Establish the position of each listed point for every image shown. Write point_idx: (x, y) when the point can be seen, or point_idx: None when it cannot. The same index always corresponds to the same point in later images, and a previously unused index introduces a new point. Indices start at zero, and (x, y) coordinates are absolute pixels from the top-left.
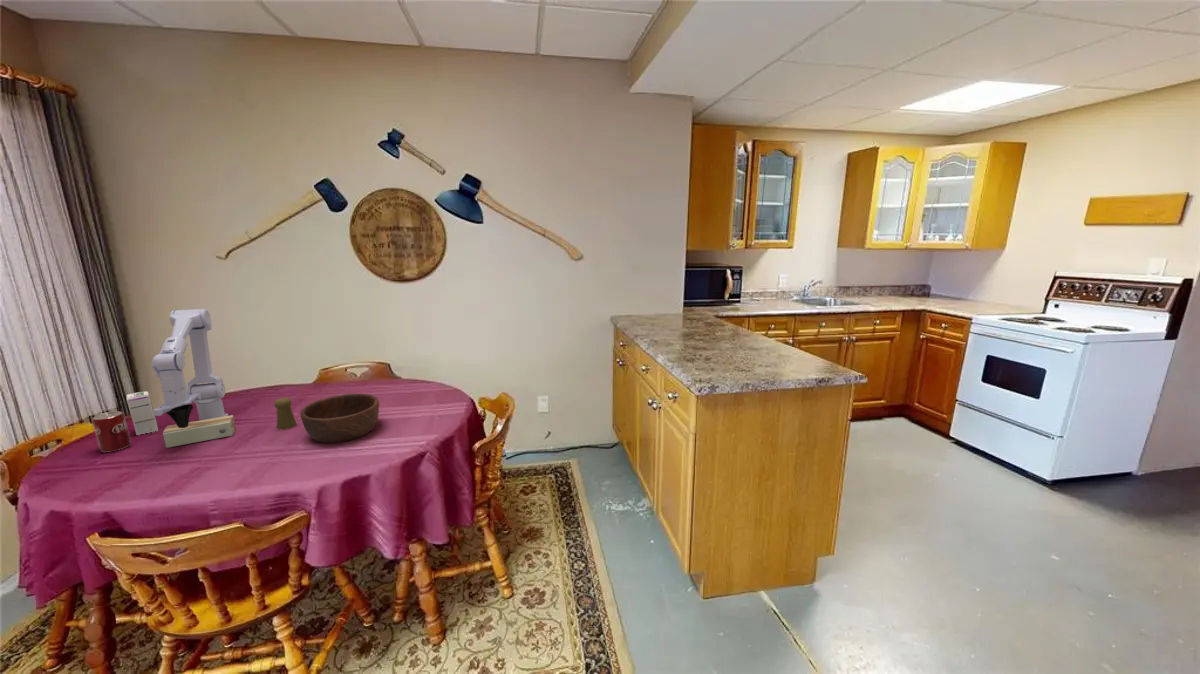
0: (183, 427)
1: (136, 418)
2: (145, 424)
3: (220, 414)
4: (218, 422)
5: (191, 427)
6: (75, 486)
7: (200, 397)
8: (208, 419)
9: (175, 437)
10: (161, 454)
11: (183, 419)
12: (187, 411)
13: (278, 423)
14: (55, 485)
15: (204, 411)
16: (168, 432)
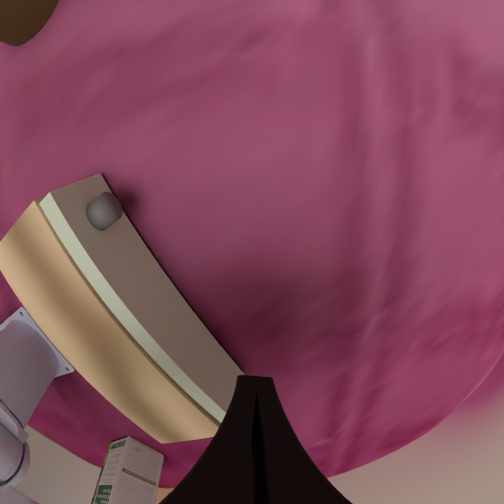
0: (272, 385)
1: (149, 492)
2: (141, 467)
3: (7, 337)
4: (64, 266)
5: (155, 370)
6: (446, 391)
7: (9, 499)
8: (57, 344)
9: (221, 382)
10: (298, 356)
11: (288, 438)
12: (245, 498)
13: (32, 6)
14: (419, 423)
15: (28, 388)
16: (220, 420)
